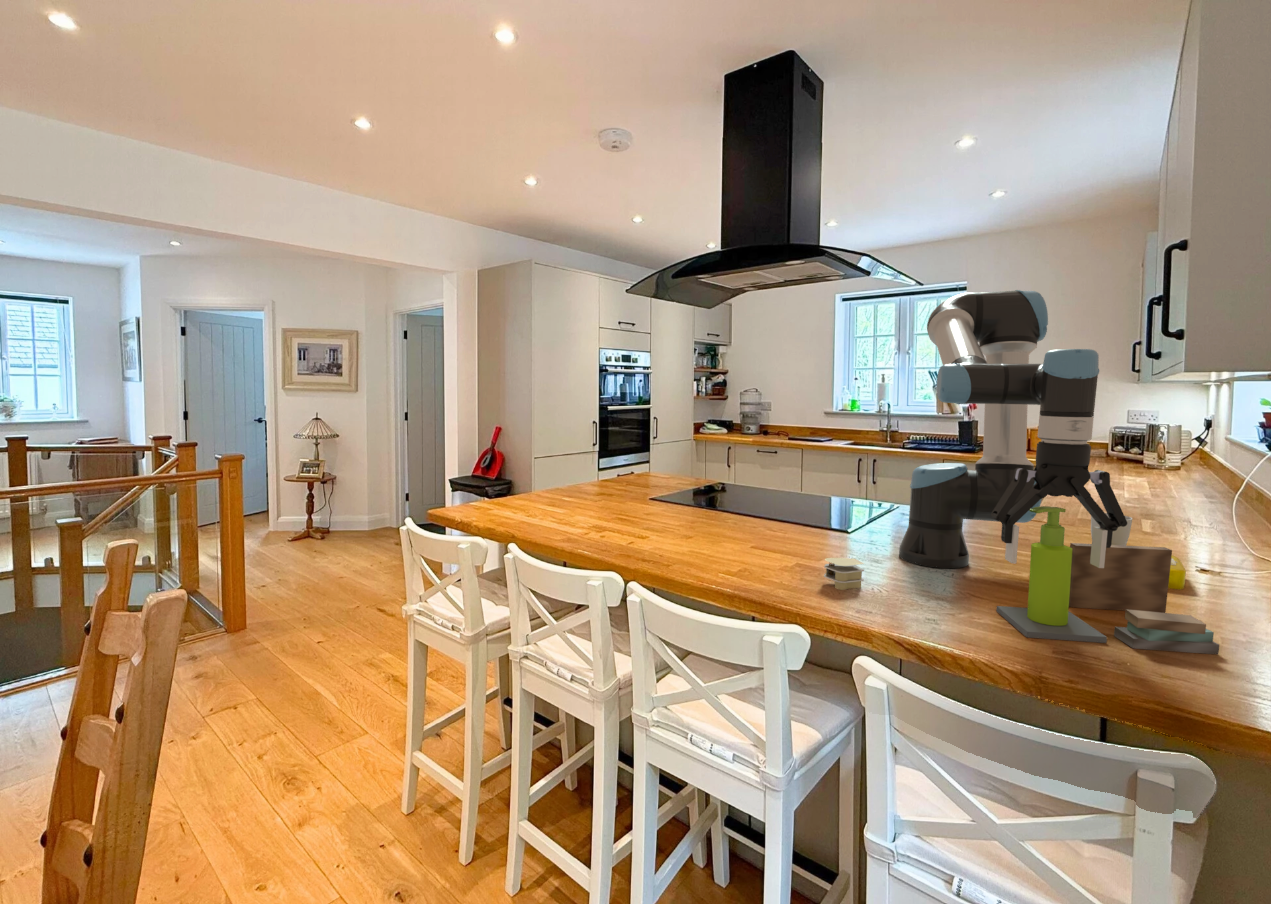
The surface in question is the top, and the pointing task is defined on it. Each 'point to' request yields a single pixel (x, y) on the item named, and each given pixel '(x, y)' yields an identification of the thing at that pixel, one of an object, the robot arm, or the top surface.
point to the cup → (1117, 531)
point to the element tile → (1176, 574)
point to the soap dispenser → (1050, 572)
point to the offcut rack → (1137, 597)
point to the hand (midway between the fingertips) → (1053, 563)
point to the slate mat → (1051, 627)
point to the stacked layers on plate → (844, 572)
